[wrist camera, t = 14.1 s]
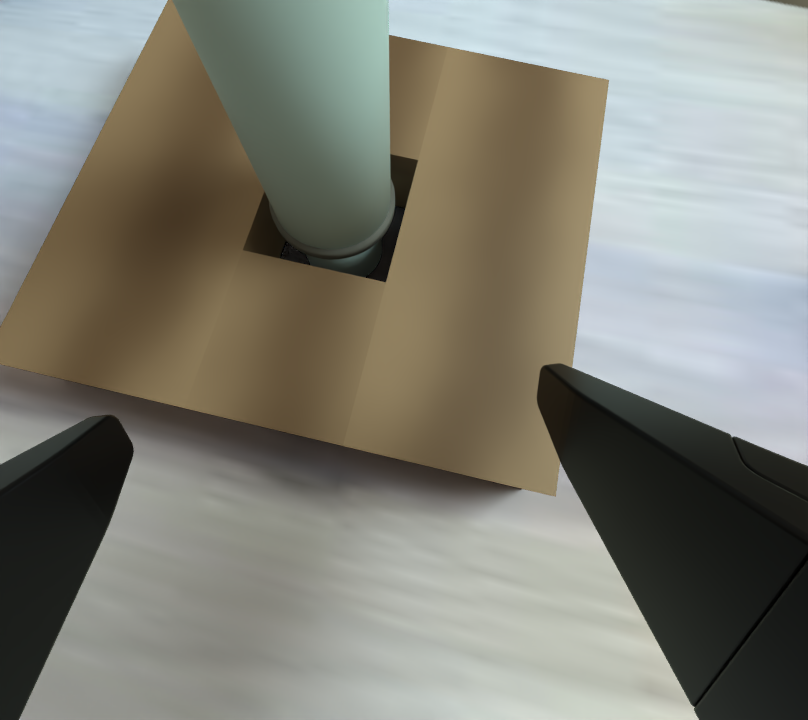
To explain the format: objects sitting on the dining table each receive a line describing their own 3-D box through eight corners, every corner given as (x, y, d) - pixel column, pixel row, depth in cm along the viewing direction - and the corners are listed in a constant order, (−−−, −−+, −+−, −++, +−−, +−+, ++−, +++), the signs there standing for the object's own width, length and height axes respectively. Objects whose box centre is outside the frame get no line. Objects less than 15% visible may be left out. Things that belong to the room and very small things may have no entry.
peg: (312, 309, 16) (19, -230, 4) (280, 222, 17) (-41, -450, 4) (410, 274, 17) (461, -310, 4) (373, 191, 18) (322, -493, 5)
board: (62, 379, 15) (-17, 360, 12) (206, 62, 19) (172, -10, 16) (523, 489, 15) (555, 496, 12) (574, 139, 18) (608, 80, 16)
